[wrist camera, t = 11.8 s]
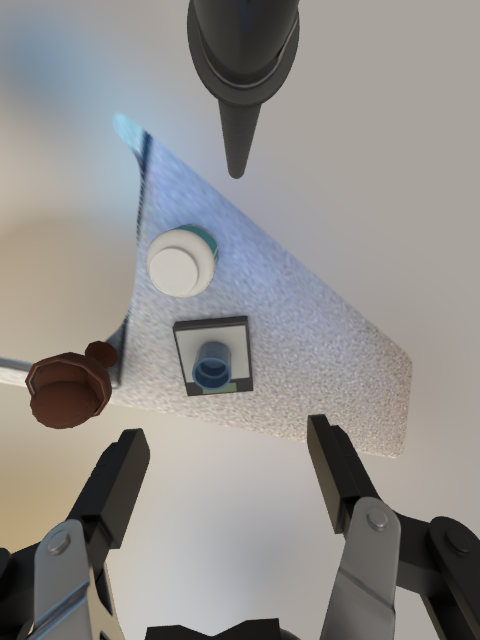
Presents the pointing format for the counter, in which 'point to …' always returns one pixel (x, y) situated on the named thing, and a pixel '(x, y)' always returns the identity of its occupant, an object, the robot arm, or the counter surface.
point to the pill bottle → (182, 260)
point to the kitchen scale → (218, 331)
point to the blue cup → (212, 366)
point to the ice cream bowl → (71, 386)
